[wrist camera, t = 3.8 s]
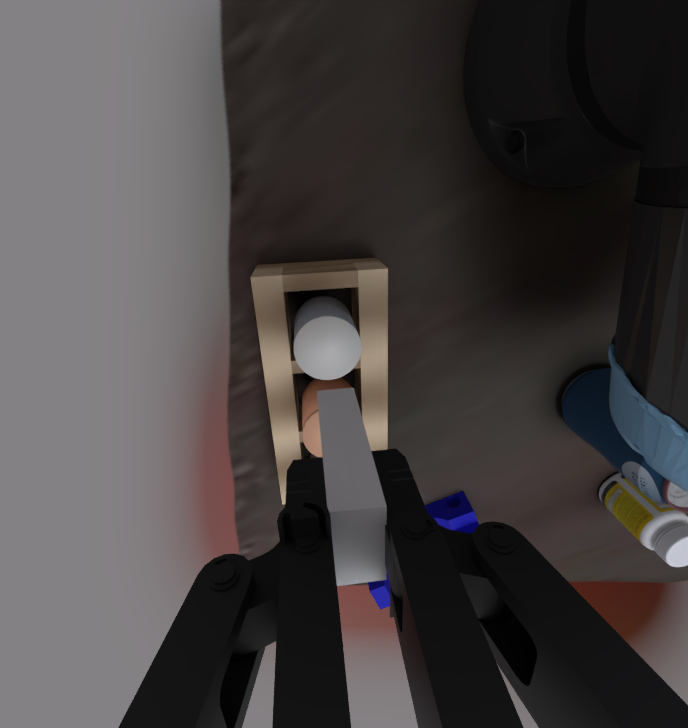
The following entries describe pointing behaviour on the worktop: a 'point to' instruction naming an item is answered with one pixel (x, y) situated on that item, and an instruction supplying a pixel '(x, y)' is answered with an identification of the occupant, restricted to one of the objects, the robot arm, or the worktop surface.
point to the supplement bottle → (648, 519)
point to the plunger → (325, 338)
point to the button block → (279, 346)
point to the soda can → (613, 437)
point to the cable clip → (447, 514)
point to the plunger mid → (316, 412)
